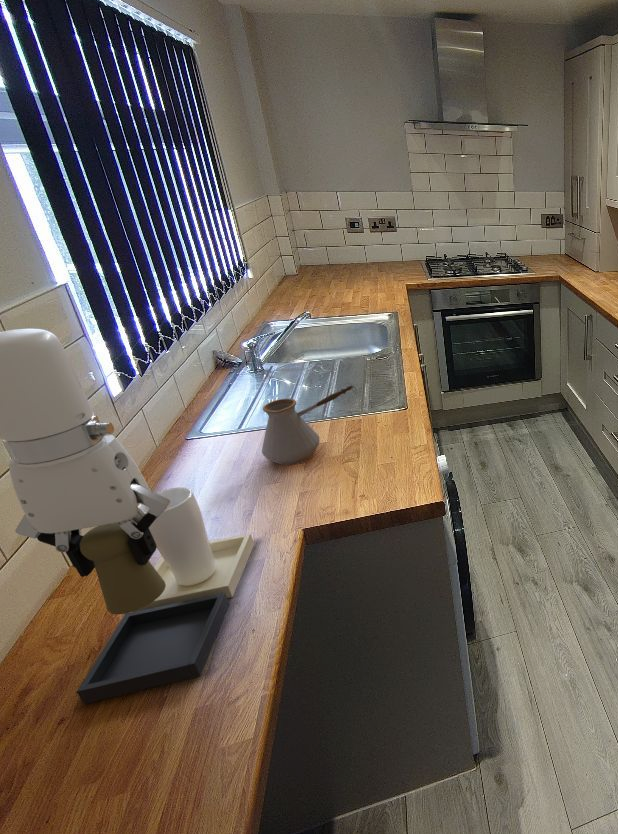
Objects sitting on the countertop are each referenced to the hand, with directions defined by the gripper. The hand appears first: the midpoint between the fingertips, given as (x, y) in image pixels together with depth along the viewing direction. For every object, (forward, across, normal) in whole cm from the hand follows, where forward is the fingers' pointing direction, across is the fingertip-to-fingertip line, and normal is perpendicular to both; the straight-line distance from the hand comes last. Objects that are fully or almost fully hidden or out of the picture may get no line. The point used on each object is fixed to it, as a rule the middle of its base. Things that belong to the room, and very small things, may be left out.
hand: (119, 561), depth 66 cm
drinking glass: (+15, 0, -14) cm, 21 cm away
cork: (+6, 0, 0) cm, 6 cm away
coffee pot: (+16, -12, -51) cm, 55 cm away
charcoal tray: (+16, 0, 0) cm, 16 cm away
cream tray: (+16, 0, -14) cm, 21 cm away
